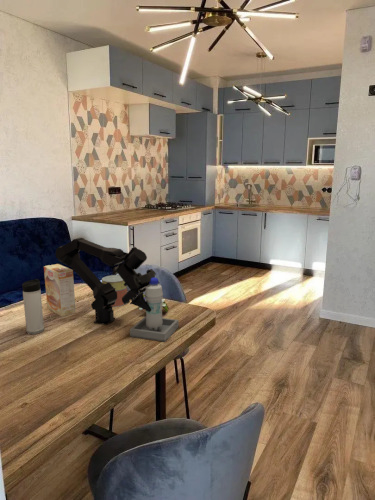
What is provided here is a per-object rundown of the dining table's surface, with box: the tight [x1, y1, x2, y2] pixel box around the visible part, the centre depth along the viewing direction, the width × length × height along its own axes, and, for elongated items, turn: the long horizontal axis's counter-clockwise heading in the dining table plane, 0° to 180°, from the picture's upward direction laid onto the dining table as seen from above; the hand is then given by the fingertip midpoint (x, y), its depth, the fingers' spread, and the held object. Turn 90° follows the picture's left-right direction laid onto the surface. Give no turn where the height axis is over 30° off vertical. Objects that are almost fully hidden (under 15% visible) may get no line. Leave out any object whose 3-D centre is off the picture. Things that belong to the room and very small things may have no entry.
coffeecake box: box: [43, 263, 77, 317], centre depth 166 cm, size 15×7×20 cm, turn 42°
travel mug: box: [21, 278, 45, 335], centre depth 144 cm, size 6×7×20 cm
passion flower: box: [137, 294, 169, 313], centre depth 164 cm, size 11×11×12 cm
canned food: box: [101, 274, 128, 308], centre depth 176 cm, size 11×11×12 cm
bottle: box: [144, 277, 164, 330], centre depth 142 cm, size 7×7×20 cm
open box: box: [129, 315, 180, 343], centre depth 144 cm, size 14×14×3 cm
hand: (154, 308), depth 143 cm, fingers closed on bottle, 6 cm apart
